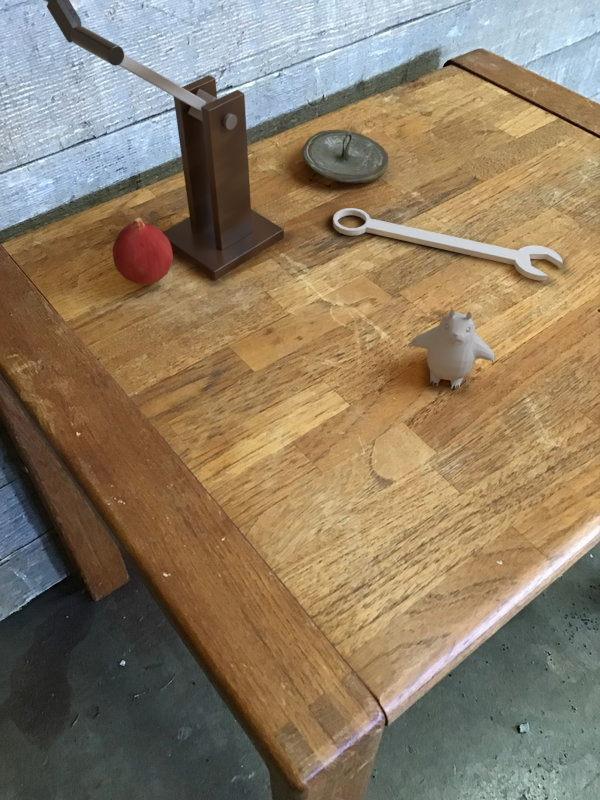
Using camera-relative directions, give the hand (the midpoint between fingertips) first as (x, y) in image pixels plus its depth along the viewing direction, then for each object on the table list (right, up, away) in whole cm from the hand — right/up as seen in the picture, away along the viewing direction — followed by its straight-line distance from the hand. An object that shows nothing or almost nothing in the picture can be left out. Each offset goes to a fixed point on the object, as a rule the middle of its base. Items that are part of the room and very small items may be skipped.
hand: (35, 52), depth 65 cm
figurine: (+37, -28, +3) cm, 47 cm away
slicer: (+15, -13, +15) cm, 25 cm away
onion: (+8, -19, +11) cm, 23 cm away
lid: (+29, -3, +24) cm, 38 cm away
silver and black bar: (+11, -5, -2) cm, 12 cm away
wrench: (+39, -14, +14) cm, 44 cm away
